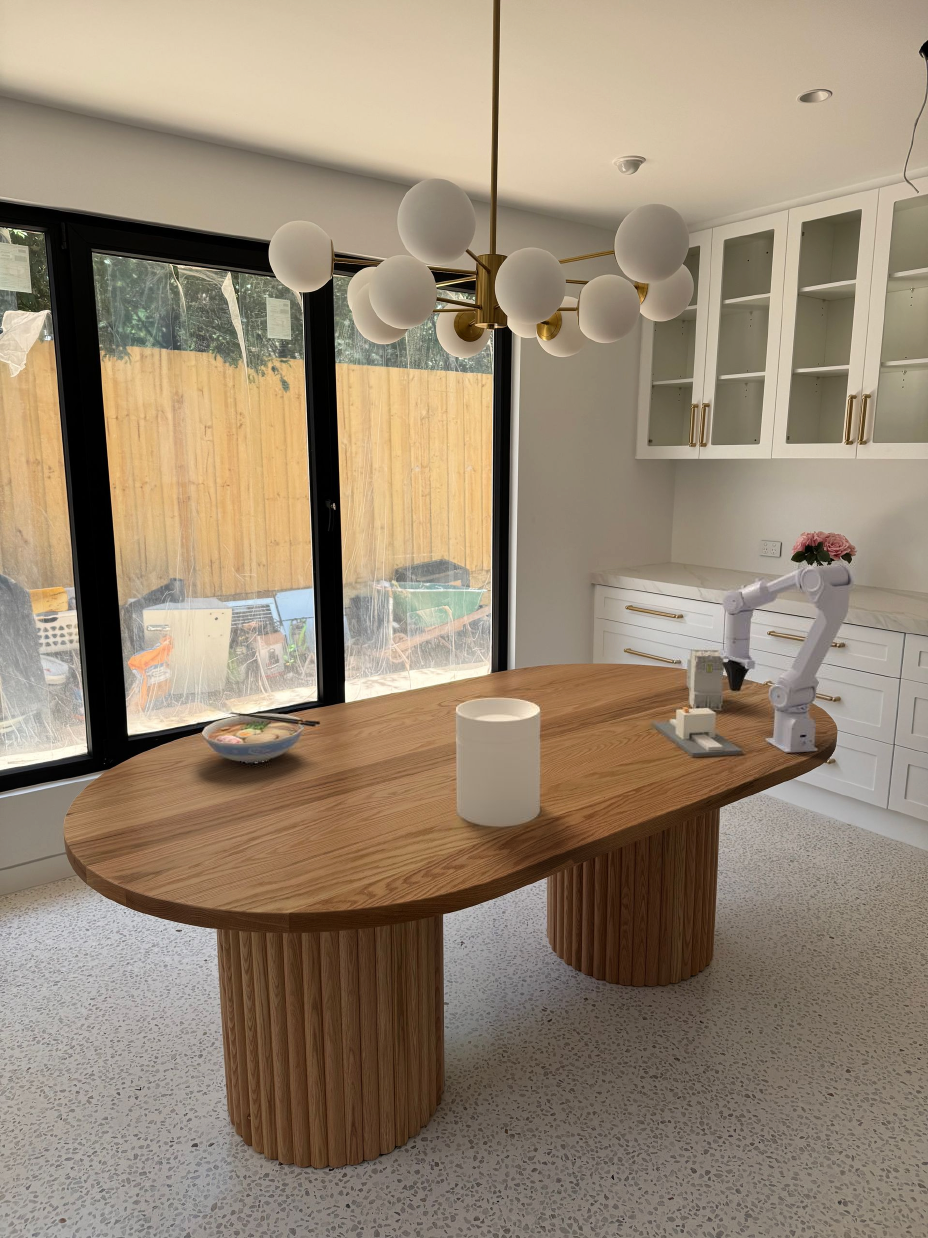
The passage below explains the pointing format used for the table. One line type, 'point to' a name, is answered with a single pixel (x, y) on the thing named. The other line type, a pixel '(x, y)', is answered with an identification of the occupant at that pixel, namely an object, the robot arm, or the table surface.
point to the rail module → (695, 722)
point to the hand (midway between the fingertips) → (735, 690)
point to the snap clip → (696, 733)
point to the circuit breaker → (705, 679)
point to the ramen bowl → (255, 736)
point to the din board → (697, 742)
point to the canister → (498, 761)
